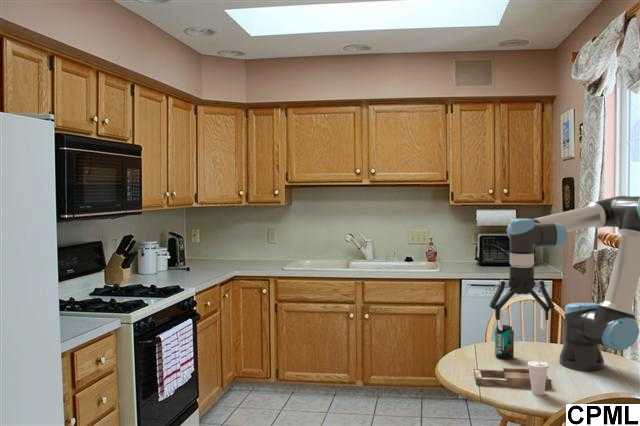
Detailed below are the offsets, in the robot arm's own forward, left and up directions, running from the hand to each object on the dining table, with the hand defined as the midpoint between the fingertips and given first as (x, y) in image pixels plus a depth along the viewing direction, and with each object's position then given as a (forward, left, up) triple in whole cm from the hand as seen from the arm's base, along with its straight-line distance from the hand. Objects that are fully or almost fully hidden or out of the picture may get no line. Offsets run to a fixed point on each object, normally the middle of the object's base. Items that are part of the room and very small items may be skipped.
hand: (521, 329), depth 181 cm
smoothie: (-5, +3, -20) cm, 21 cm away
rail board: (+2, -6, -20) cm, 21 cm away
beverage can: (+1, -33, -20) cm, 39 cm away
